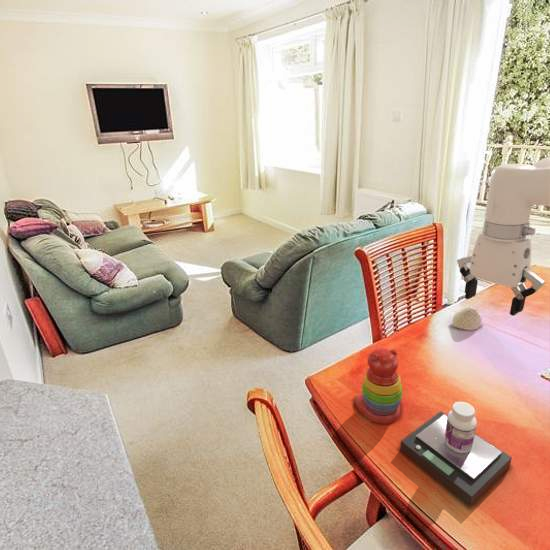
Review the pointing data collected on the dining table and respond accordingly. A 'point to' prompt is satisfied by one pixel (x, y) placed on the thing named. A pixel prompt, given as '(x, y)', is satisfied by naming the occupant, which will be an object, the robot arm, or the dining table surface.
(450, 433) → the pill bottle
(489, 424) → the dining table surface
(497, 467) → the scale
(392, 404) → the stacking bear
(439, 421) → the weighing pan
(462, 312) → the seashell
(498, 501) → the dining table surface
